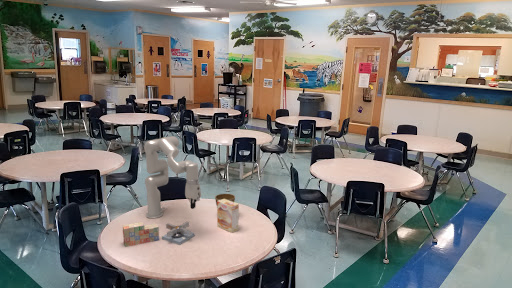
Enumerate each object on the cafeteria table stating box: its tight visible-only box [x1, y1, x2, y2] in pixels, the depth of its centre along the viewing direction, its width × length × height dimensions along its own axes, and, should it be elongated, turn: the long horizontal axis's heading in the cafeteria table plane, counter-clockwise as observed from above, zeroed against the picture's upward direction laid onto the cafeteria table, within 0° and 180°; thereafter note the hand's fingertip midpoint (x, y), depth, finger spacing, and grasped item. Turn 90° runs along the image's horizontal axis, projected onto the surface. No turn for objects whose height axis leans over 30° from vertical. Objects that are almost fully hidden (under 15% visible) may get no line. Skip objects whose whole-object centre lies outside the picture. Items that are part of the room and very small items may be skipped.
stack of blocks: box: [122, 221, 160, 248], centre depth 237 cm, size 21×6×12 cm, turn 118°
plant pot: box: [214, 193, 236, 206], centre depth 278 cm, size 15×15×16 cm
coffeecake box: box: [216, 199, 240, 234], centre depth 258 cm, size 15×7×20 cm, turn 47°
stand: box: [161, 231, 196, 246], centre depth 244 cm, size 15×15×2 cm
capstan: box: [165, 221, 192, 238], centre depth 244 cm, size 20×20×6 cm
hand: (193, 207), depth 244 cm, fingers closed
